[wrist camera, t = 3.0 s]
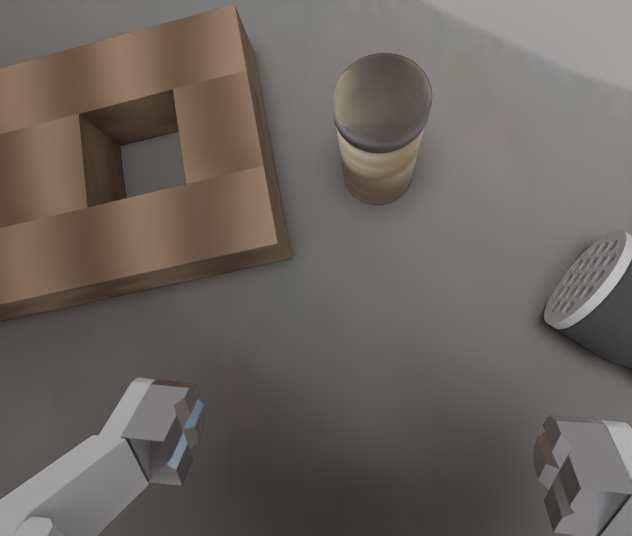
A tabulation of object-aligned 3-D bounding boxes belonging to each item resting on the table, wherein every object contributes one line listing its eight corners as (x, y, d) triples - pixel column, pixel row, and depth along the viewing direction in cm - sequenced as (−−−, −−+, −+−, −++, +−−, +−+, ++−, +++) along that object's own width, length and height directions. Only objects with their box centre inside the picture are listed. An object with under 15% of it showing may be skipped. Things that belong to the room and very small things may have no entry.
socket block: (-16, 324, 27) (-81, 322, 23) (-25, 124, 30) (-85, 91, 26) (292, 258, 25) (277, 243, 21) (253, 51, 28) (234, 4, 24)
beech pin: (351, 212, 25) (342, 155, 17) (337, 149, 26) (323, 66, 18) (420, 197, 25) (443, 131, 17) (404, 133, 26) (419, 42, 18)
